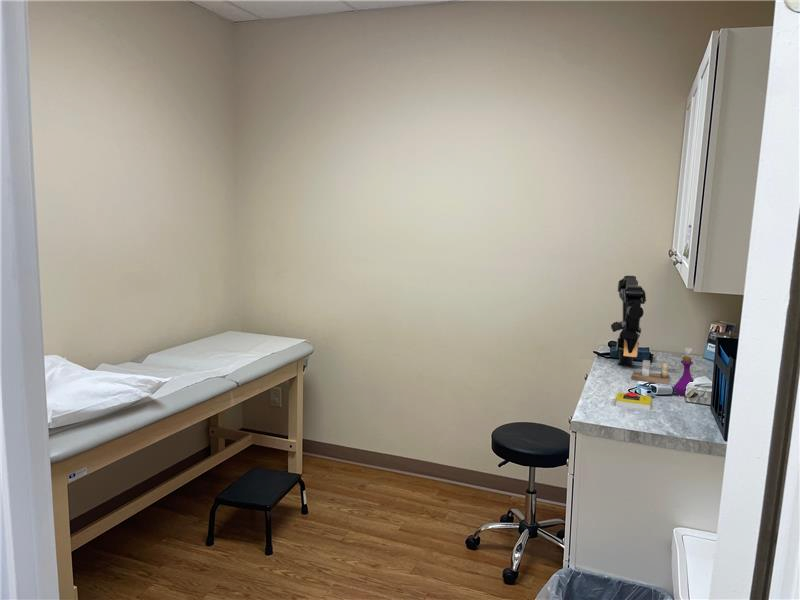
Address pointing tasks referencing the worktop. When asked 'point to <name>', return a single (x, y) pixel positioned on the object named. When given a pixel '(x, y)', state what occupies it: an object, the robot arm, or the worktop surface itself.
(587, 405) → the worktop surface
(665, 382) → the wooden holder
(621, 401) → the emergency button
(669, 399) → the worktop surface
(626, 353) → the kraft paper carton
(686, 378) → the perfume bottle
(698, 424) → the worktop surface
